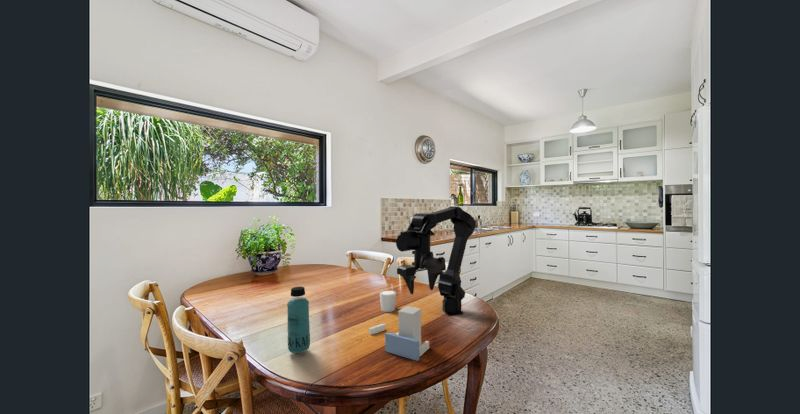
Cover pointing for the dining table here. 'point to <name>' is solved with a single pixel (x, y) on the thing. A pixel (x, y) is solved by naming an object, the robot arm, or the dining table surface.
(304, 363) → the dining table surface
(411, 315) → the plug block
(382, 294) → the shot glass
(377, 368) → the dining table surface
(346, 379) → the dining table surface
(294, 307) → the beverage bottle
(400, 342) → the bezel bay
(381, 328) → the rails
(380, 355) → the dining table surface
